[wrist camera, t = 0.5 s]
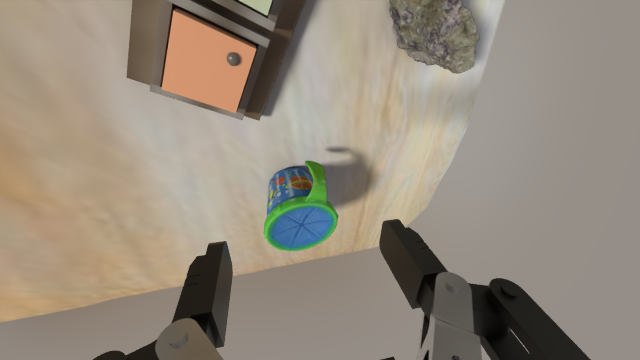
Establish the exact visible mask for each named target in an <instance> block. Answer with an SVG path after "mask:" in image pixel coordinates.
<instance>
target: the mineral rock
mask: <svg viewBox="0 0 640 360" xmlns="http://www.w3.org/2000/svg"><path fill="white" fill-rule="evenodd" d="M389 6H390V16H391V17H392V19H393V28H392V30H393V33H394V34H395V35H396V38H397V46H398V47H399V48H400V49H405V51H406V53H407V54H408V56H410V57H411V58H413V59H414V60H415V61H420V62H423V63H425V64H426V65H434V64H436V65H439V66H440V67H443V68H444V69H448V70H450V71H451V72H452V73H462V72H465V71H467V70H469V69H471V68H473V67H474V63H475V62H474V54H475V45H476V43H477V41H478V40H479V39H480V37H479V34H478V31H477V28H476V26H475V24H474V20H473V18H472V14H471V12H470V11H469V10H467V9H466V8H464V7H463V4H462V2H461V0H389Z"/></svg>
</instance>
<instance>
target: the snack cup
mask: <svg viewBox="0 0 640 360" xmlns="http://www.w3.org/2000/svg"><path fill="white" fill-rule="evenodd" d="M305 164H306V165H307V166H308V168H309V170H310V173H311V175H312V177H311V176H310V175H309V174H308V173H307V172H306V171H304V170H302V169H300V168H290V169H285V170H282V171H280V172H277V173H276V174H275V175H274V177H273V178H272V179H271V180H270V183H269V188H268V201H267V218H266V221H265V225H264V237H265V238H266V239H267V241H268V242H269V244H271V245H272V246H273V247H275V248H277V249H279V250H285V251H299V250H304V249H308V248H311V247H314V246H316V245H318V244H320V243H321V242H323V241H324V240H326V239H327V238H328V237H329V236H330V235H331V234H332V233H333V232H334V230H335V228H336V226H337V220H338V214H337V213H336V212H335V210H334V208H333V206H332V205H331V204H330V203H329V202H328V201H327V186H326V179H325V174H324V168H323V167H322V165H320V164H319V163H316V162H313V161H305Z"/></svg>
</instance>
